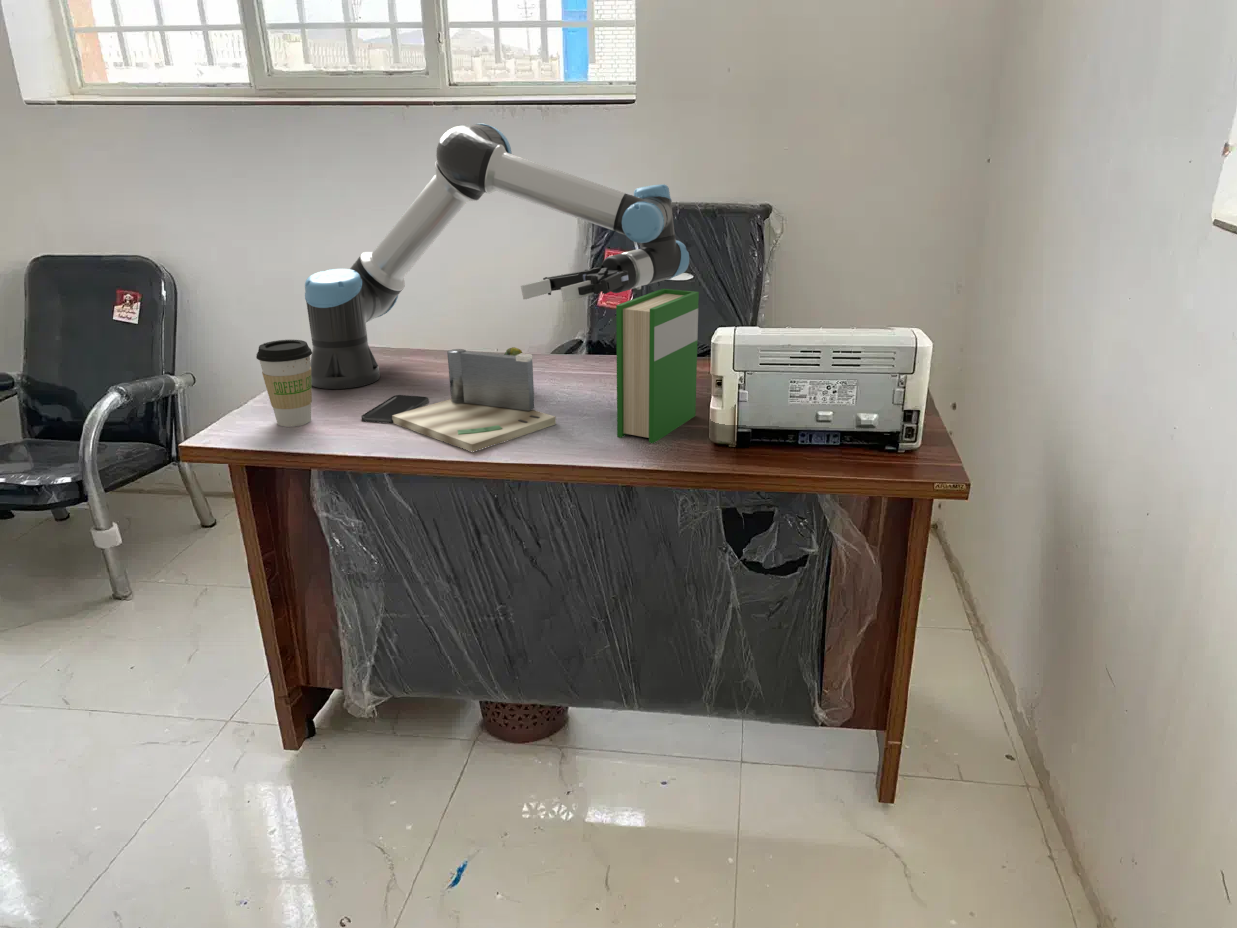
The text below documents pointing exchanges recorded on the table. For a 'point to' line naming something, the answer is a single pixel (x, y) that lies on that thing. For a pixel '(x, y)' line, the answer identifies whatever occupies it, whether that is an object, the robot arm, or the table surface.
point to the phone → (394, 408)
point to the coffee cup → (287, 380)
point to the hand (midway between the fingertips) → (542, 293)
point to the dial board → (472, 423)
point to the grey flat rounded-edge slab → (491, 379)
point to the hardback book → (656, 362)
